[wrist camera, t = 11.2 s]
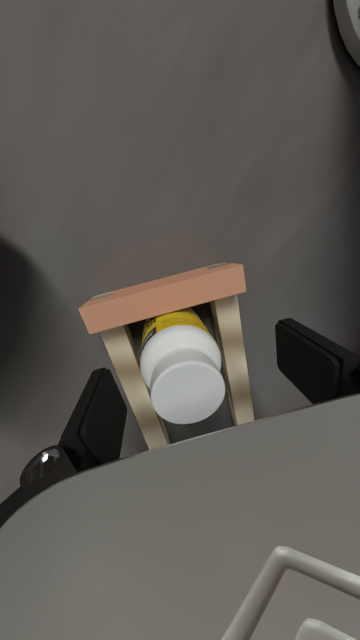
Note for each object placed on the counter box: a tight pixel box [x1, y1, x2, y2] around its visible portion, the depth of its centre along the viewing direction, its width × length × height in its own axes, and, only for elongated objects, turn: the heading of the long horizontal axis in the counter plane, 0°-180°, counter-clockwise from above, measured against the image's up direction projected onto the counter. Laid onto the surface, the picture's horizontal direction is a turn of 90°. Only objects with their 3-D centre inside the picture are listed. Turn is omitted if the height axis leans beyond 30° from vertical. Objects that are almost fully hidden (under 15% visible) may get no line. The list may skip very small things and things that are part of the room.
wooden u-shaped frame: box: [79, 262, 254, 450], centre depth 20 cm, size 26×12×4 cm, turn 14°
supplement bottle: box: [140, 307, 225, 424], centre depth 15 cm, size 5×5×10 cm
